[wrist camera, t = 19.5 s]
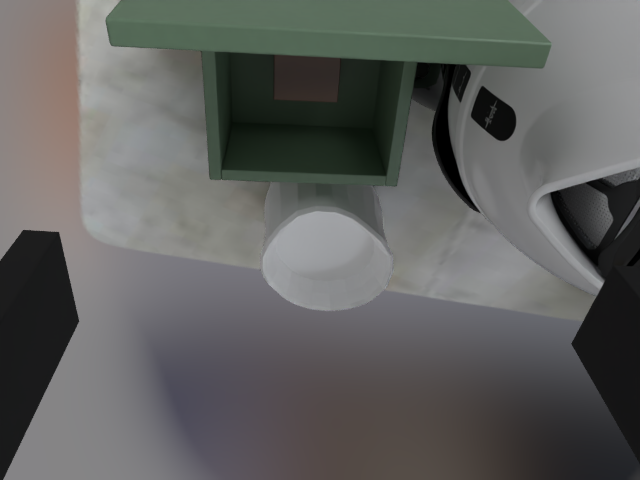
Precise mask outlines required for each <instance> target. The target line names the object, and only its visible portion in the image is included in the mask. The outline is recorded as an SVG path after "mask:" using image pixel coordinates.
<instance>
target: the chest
mask: <svg viewBox="0 0 640 480" xmlns="http://www.w3.org/2000/svg"><path fill="white" fill-rule="evenodd" d="M201 53H202V68H203V84H204V99H205V114H206V130H207V145H208V161H209V176H210V179H211V180H221V179H222V180H237V181H265V182H293V183H321V184H349V185H377V186H397V181H398V175H399V169H400V163H401V157H402V152H403V146H404V140H405V134H406V128H407V122H408V116H409V110H410V104H411V98H412V92H413V86H414V80H415V74H416V68H417V62H406V61H386V60H367V59H348V58H341V69H340V81H339V94H338V102H337V103H335V102H311V101H288V100H274V99H273V81H274V55H272V54H253V53H234V52H214V51H201Z"/></svg>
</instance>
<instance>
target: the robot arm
mask: <svg viewBox="0 0 640 480" xmlns="http://www.w3.org/2000/svg"><path fill="white" fill-rule="evenodd" d="M78 322H79V319H78V314H77V310H76V305H75V301H74V297H73V292H72V288H71V283H70V279H69V274H68V270H67V266H66V261H65V257H64V252H63V248H62V243H61V239H60V235H59V232H47V231H31V230H23V231H22V232H21V234H20V235H19V236H18V238H17V239H16V240H15V242H14V243H13V244H12V246H11V247H10V249H9V250H8V251H7V252H6V254H5V255H4V256H3V258H2V259H1V261H0V480H3V479H4V477H5V475H6V472H7V470H8V468H9V466H10V464H11V462H12V460H13V458H14V456H15V454H16V452H17V450H18V447H19V445H20V443H21V441H22V439H23V437H24V435H25V432H26V430H27V429H28V427H29V425H30V422H31V420H32V418H33V416H34V414H35V412H36V410H37V408H38V406H39V404H40V402H41V399H42V397H43V395H44V393H45V391H46V389H47V387H48V385H49V383H50V381H51V379H52V376H53V374H54V372H55V370H56V368H57V366H58V364H59V362H60V360H61V358H62V356H63V354H64V351H65V349H66V347H67V345H68V343H69V341H70V339H71V337H72V335H73V333H74V331H75V329H76V327H77V324H78ZM572 346H573V348H574V349H575V351H576V353H577V355H578V356H579V358H580V360H581V362H582V363H583V365H584V367H585V369H586V370H587V372H588V374H589V376H590V377H591V379H592V381H593V382H594V384H595V386H596V388H597V390H598V391H599V393H600V394H601V397H602V398H603V400H604V402H605V404H606V405H607V407H608V409H609V411H610V412H611V414H612V416H613V418H614V419H615V421H616V423H617V425H618V426H619V428H620V430H621V432H622V433H623V435H624V437H625V439H626V440H627V442H628V444H629V446H630V447H631V449H632V451H633V453H634V454H635V456H636V458H637V460H638V461H639V463H640V267H633V266H617V265H613V267H612V268H611V270H610V272H609V274H608V276H607V278H606V280H605V282H604V283H603V285H602V287H601V289H600V291H599V293H598V295H597V297H596V299H595V300H594V302H593V304H592V306H591V308H590V310H589V312H588V314H587V315H586V317H585V319H584V321H583V323H582V325H581V327H580V329H579V331H578V332H577V334H576V336H575V338H574V340H573V342H572Z"/></svg>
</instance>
